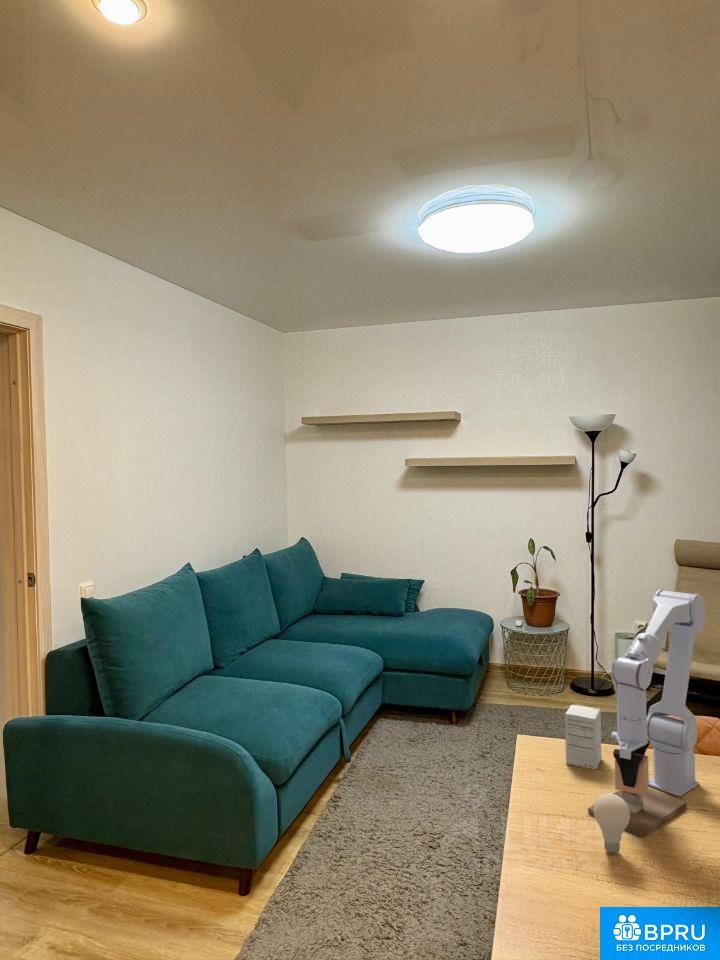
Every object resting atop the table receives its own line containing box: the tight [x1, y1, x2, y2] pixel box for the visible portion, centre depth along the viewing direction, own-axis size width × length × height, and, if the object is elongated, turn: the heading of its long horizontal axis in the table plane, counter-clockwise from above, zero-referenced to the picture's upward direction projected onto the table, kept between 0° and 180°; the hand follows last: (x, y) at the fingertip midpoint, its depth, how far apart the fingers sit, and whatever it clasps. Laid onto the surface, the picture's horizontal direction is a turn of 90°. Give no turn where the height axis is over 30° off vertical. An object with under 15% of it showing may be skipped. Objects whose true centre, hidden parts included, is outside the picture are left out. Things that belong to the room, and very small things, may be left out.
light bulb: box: [593, 792, 630, 854], centre depth 127 cm, size 7×7×11 cm
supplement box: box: [564, 704, 602, 770], centre depth 166 cm, size 7×7×13 cm
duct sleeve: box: [614, 754, 650, 795], centre depth 141 cm, size 6×6×6 cm
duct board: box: [587, 786, 688, 838], centre depth 142 cm, size 18×12×5 cm, turn 128°
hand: (632, 779), depth 141 cm, fingers closed on duct sleeve, 6 cm apart
